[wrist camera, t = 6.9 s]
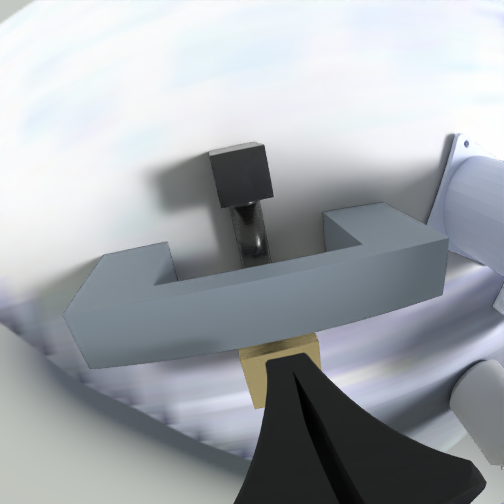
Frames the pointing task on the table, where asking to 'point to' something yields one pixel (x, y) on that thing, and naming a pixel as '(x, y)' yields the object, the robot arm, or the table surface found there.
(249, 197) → the plug
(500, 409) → the can
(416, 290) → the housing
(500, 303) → the syrup box
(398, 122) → the table surface
